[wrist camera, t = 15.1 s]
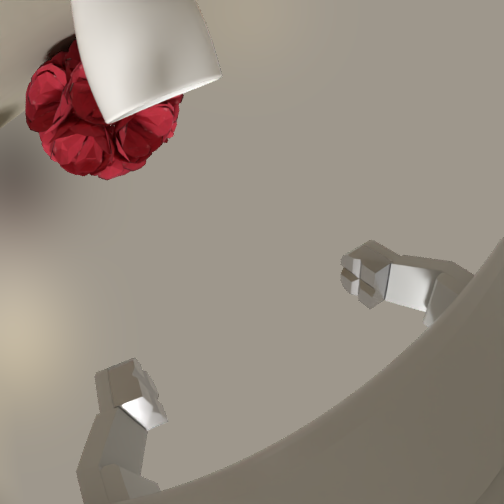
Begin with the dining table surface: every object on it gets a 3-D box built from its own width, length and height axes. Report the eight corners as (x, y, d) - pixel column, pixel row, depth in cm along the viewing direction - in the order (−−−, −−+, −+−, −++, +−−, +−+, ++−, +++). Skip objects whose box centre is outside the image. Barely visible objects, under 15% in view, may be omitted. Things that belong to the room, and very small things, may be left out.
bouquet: (139, 5, 33) (194, 19, 20) (157, 98, 54) (212, 175, 41) (32, 50, 28) (-6, 107, 15) (69, 138, 48) (80, 238, 35)
